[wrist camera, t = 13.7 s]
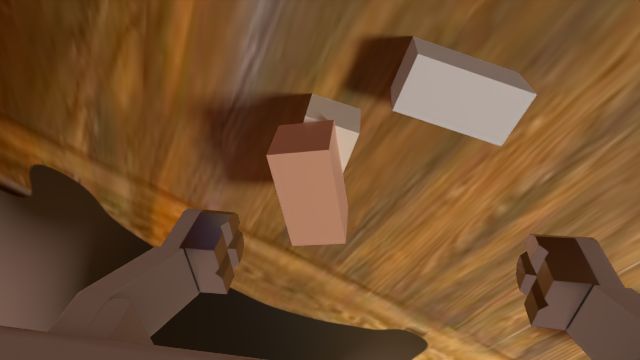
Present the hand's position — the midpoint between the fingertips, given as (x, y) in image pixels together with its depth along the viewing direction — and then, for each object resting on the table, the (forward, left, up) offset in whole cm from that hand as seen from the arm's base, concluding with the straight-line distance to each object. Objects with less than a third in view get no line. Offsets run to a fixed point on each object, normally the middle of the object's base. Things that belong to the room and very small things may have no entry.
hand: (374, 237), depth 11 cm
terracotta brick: (+5, +13, -22) cm, 26 cm away
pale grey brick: (-7, +6, -27) cm, 29 cm away
